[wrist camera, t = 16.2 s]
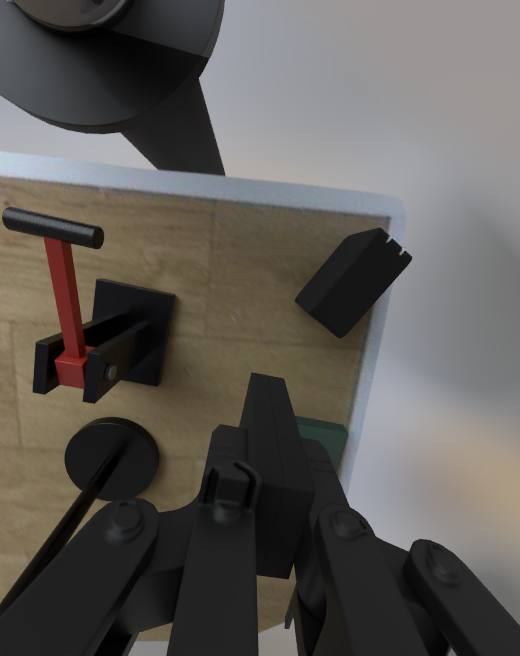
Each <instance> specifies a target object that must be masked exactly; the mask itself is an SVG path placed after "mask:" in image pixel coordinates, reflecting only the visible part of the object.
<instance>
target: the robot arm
mask: <svg viewBox="0 0 520 656" xmlns="http://www.w3.org/2000/svg"><path fill="white" fill-rule="evenodd" d="M11 1H12V2H13V3H14V4H15V5H16V6H17V7H18V8H19V9H20V11H21V12H22V13H23V14H25V15H26V16H27V17H28V18H29V19H30V20H31V21H33V22H34V23H35V24H37V25H38V26H40V27H41V28H43V29H45V30H47V31H49V32H51V33H53V34H56V35H59V36H62V37H67V38H74V39H83V38H90V37H95V36H98V35H100V34H103V33H105V32H107V31H109V30H110V29H112V28H113V27H115V26H116V25H117V24H118V23H119V22H120V21H121V20H122V19H123V18H124V17H125V16H126V14H127V13H128V12H129V10H130V8H131V7H132V5H133V3H134V1H135V0H11ZM293 564H294V567H295V574H296V581H297V582H296V585H295V588H294V592H293V595H292V598H291V601H290V604H289V607H288V610H287V613H286V616H285V629H289V628H290V624H291V621H292V618H293V617H294V624H295V633H296V642H297V650H298V656H448V654H449V652H450V650H451V648H452V649H453V650H454V652H455V653H456V655H457V656H520V625H519V624H518V623H517V622H516V621H515V620H514V619H513V617H511V615H510V614H509V613H508V612H507V611H506V610H505V609H504V607H503V606H502V605H501V604H500V603H499V602H498V601H497V599H496V598H495V597H494V596H493V595H492V594H491V593H490V592H489V591H488V589H487V588H486V587H485V586H484V585H483V584H482V583H481V581H480V580H479V579H478V578H477V577H476V576H475V575H474V574H473V572H472V571H471V570H470V569H469V568H468V567H467V566H466V565H465V564H464V563H463V562H462V561H461V560H460V559H459V558H458V557H457V556H456V555H455V554H454V553H452V552H451V551H449V550H448V549H447V548H445V547H444V546H442V545H440V544H438V543H435V542H433V541H431V540H424V539H419V540H417V541H414V542H413V544H412V546H411V548H410V551H409V552H408V551H405V550H404V549H401V548H399V547H397V546H394V545H392V544H390V543H387V542H385V541H383V540H381V539H379V538H377V537H376V536H375V534H374V532H373V530H372V528H371V527H370V525H369V524H368V522H367V521H366V519H365V518H364V517H363V516H362V515H361V514H359V513H358V512H357V511H355V510H354V509H352V508H350V506H349V504H348V502H347V499H346V496H345V494H344V491H343V489H342V486H341V484H340V481H339V479H338V476H337V474H336V473H335V469H334V466H333V464H332V461H331V459H330V456H329V454H328V451H327V450H326V449H325V448H324V447H323V445H322V444H321V443H320V442H319V441H318V440H313V439H307V438H302V437H300V433H299V430H298V426H297V423H296V419H295V416H294V412H293V409H292V405H291V402H290V398H289V395H288V391H287V388H286V384H285V380H284V379H283V378H278V377H273V376H268V375H262V374H257V373H251V377H250V381H249V386H248V390H247V395H246V399H245V403H244V408H243V412H242V416H241V421H240V425H239V428H238V427H233V426H227V425H221V424H220V425H219V426H218V427H217V428H216V429H215V430H214V431H213V432H212V436H211V441H210V446H209V451H208V456H207V461H206V465H205V470H204V475H203V479H202V484H201V489H200V491H199V494H198V495H197V497H196V498H195V499H194V500H193V501H192V502H191V503H190V504H188V505H187V506H185V507H182V508H180V509H177V510H173V511H167V512H160V513H159V512H158V511H157V509H156V508H155V506H154V505H153V504H151V503H150V502H148V501H146V500H145V499H140V498H135V497H130V498H122V499H118V500H116V501H113V502H111V503H108V504H106V505H105V506H104V507H103V508H101V509H100V510H99V511H98V512H96V513H95V515H94V516H93V517H92V518H91V519H90V520H89V521H88V522H87V523H86V524H85V525H84V526H83V527H82V529H81V530H80V531H79V532H78V533H77V534H76V535H75V536H74V537H73V538H72V539H71V540H70V542H69V543H68V544H67V545H66V546H65V547H64V548H63V549H62V550H61V551H60V552H59V553H58V555H57V556H56V557H55V558H54V559H53V560H52V561H51V562H50V563H49V564H48V565H47V566H46V567H45V569H44V570H43V571H42V572H41V573H40V574H39V575H38V576H37V577H36V578H35V579H34V580H33V582H32V583H31V584H30V585H29V586H28V587H27V588H26V589H25V590H24V591H23V592H22V593H21V595H20V596H19V597H18V598H17V599H16V600H15V601H14V602H13V603H12V604H11V605H10V606H9V607H8V609H7V610H6V611H5V612H4V613H3V614H2V615H1V616H0V656H128V654H129V652H130V650H131V648H132V646H133V644H134V642H135V640H136V638H137V636H138V634H139V632H142V631H145V630H148V629H152V628H155V627H158V626H162V625H165V624H169V623H172V622H173V626H172V630H171V635H170V640H169V645H168V650H167V656H258V617H257V578H256V575H259V576H267V577H274V578H282V579H289V576H290V573H291V570H292V567H293Z"/></svg>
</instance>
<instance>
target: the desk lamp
mask: <svg viewBox="0 0 520 656" xmlns="http://www.w3.org/2000/svg"><path fill="white" fill-rule="evenodd" d="M158 465H159V451H158V448H157V445H156V443H155V441H154V439H153V438H152V436H151V435H150V434H149V433H148V432H147V431H146V430H145V429H144V428H143V427H141V426H140V425H138V424H137V423H135V422H133V421H130V420H127V419H123V418H118V417H106V418H100V419H97V420H94V421H92V422H90V423H88V424H86V425H85V426H84V427H82V428H81V429H80V430H79V431H78V432H77V433H76V434H75V435H74V436H73V437H72V439H71V440H70V442H69V443H68V445H67V448H66V451H65V467H66V470H67V473H68V475H69V477H70V479H71V480H72V481H73V483H74V484H75V485H76V486H77V487H78V488H79V489H80V490H82V492H81V493H80V495H79V496H78V497H77V499H76V500H75V501H74V503H73V504H72V506H71V507H70V508H69V510H68V511H67V512H66V514H65V515H64V517H63V518H62V519H61V521H60V522H59V523H58V525H57V526H56V528H55V529H54V530H53V532H52V533H51V534H50V536H49V537H48V538H47V540H46V541H45V543H44V544H43V545H42V547H41V548H40V549H39V551H38V552H37V554H36V555H35V556H34V558H33V559H32V560H31V562H30V563H29V565H28V566H27V567H26V569H25V570H24V571H23V573H22V574H21V576H20V577H19V578H18V580H17V581H16V582H15V584H14V585H13V586H12V588H11V589H10V591H9V592H8V593H7V595H6V596H5V597H4V599H3V600H2V602H1V603H0V616H1V615H2V614H3V613H4V612H5V611H6V610H7V609H8V607H9V606H10V605H11V604H12V603H13V602H14V601H15V600H16V599H17V598H18V597H19V596H20V595H21V593H22V592H23V591H24V590H25V589H26V588H27V587H28V586H29V585H30V584H31V583H32V582H33V580H34V579H35V578H36V577H37V576H38V575H39V574H40V573H41V572H42V571H43V570H44V569H45V567H46V566H47V565H48V564H49V563H50V562H51V561H52V560H53V559H54V558H55V557H56V556H57V555H58V553H59V552H60V551H61V550H62V549H63V548H64V547H65V546H66V544H67V543H68V541H69V539H70V538H71V536H72V535H73V533H74V532H75V530H76V529H77V527H78V526H79V524H80V523H81V521H82V519H83V518H84V516H85V515H86V513H87V512H88V510H89V509H90V507H91V506H92V504H93V502H94V501H95V499H96V498H97V499H100V500H105V501H116V500H118V499H122V498H130V497H135V496H137V495H139V494H140V493H142V492H143V491H144V490H145V489H147V487H148V486H149V485H150V484H151V482H152V480H153V478H154V476H155V474H156V471H157V469H158Z"/></svg>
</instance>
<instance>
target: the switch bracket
mask: <svg viewBox="0 0 520 656" xmlns="http://www.w3.org/2000/svg"><path fill="white" fill-rule="evenodd" d="M174 299H175V294H171V293H167V292H162V291H157V290H153V289H148V288H144V287H139V286H134V285H130V284H125V283H120V282H116V281H111V280H106V279H102V278H101V279H96V288H95V297H94V307H93V316H92V321H90V322H87V323H85V324H82V326H83V333H84V340H85V346H89V347H94V349H92V350H91V351H89V352H88V355H87V365H86V374H85V384H84V394H83V402H88V403H93V404H95V403H96V402H97V401H98V400H99V399H100V398H101V397H103V396H104V395H105V394H106V393H107V392H108V391H109V390H110V389H111V388H112V387H113V386H115V385H116V384H117V383H118V382H119V381H120V380H125V381H131V382H136V383H141V384H146V385H152V386H157V387H158V386H159V385H160V384H161V379H162V373H163V367H164V361H165V355H166V348H167V342H168V336H169V330H170V324H171V318H172V311H173V305H174ZM64 350H65V346H64V341H63V335H62V332H61V333H58V334H56V335H53V336H50V337H48V338H45V339H42V340H40V341H37V342H36V347H35V363H34V379H33V393H39V394H46V393H48V392H50V391H51V390H53V389H54V388H56V387H57V386H59V385H60V383H59V378H58V374H57V369H56V365H55V359H56V358H57V357H58V356H59V355H60V354H61V353H62V352H63V351H64Z"/></svg>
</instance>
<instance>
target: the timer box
mask: <svg viewBox="0 0 520 656" xmlns="http://www.w3.org/2000/svg"><path fill="white" fill-rule="evenodd" d="M295 419H296V423H297V426H298V430H299V433H300V437H302V438H307V439H313V440H318V441H319V442H320V443H321V444H322V445H323V447H324V448H325V449H326V450H327V451H328V454H329V456H330V459H331V461H332V464H333V466H334V469H335V473H336V470H337V467H338V464H339V461H340V458H341V455H342V452H343V449H344V445H345V442H346V439H347V436H348V433H347V431H346V429H345V427H344V425H341V424H335V423H330V422H325V421H320V420H314V419H309V418H304V417H298V416H295Z"/></svg>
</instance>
